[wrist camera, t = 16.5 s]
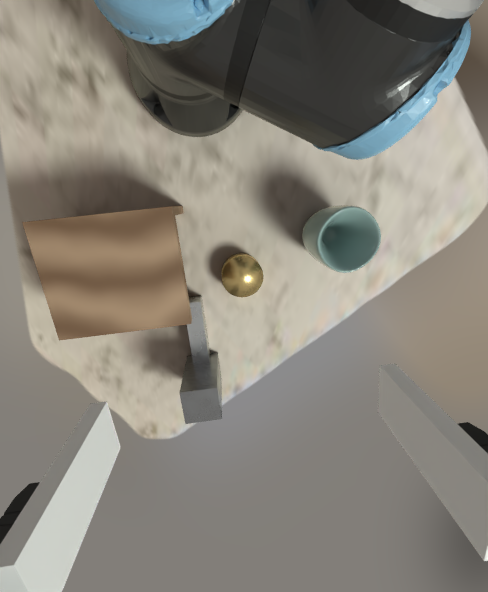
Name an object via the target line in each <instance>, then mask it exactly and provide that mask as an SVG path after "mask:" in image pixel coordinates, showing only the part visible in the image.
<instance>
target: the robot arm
mask: <svg viewBox="0 0 488 592" xmlns="http://www.w3.org/2000/svg"><path fill="white" fill-rule="evenodd" d="M94 2H95V4H96V5H97V7H98V9H99V10H100V11H101V13H102V14H103V15H104V16H105V17H106V18H107V21H109V22H110V24H111V25H112V27H113V29H114V30H115V32H116V33H117V35H118V36H119V38H120V40H121V41H122V43H123V44H124V46H125V48H126V49H127V64H128V70H129V74H130V78H131V81H132V84H133V86H134V89H135V91H136V93H137V95H138V97H139V98H140V100H141V102H142V103H143V105H144V106H145V107H146V109H147V110H148V111H149V112H150V114H151V115H152V116H153V117H154V118H155V119H156V120H157V121H158V122H159V123H161V124H162V125H163V126H165V127H166V128H168V129H170V130H171V131H173V132H176V133H178V134H181V135H185V136H191V137H203V136H209V135H212V134H215V133H218V132H220V131H222V130H223V129H225V128H226V127H228V126H229V125H230V124H232V123H233V122H234V121H235V120H236V118H237V117H238V116H239V115H240V113H241V112H242V110H245V111H247V112H249V113H251V114H253V115H255V116H257V117H259V118H261V119H263V120H265V121H267V122H269V123H271V124H273V125H275V126H277V127H279V128H281V129H283V130H286V131H288V132H290V133H292V134H294V135H296V136H298V137H300V138H302V139H304V140H306V141H308V142H310V143H312V144H313V145H314V146H315V147H316V148H318V149H320V150H321V149H322V150H324V151H331V152H334V153H336V154H338V155H341V156H343V157H346V158H349V159H356V160H358V159H365V158H369V157H372V156H375V155H377V154H379V153H381V152H383V151H384V150H386V149H388V148H389V147H391V146H392V145H393V144H395V143H396V142H397V141H399V140H400V139H401V138H402V137H404V136H405V135H406V134H407V133H408V132H409V131H410V130H411V129H412V128H414V127H415V126H416V125H417V124H418V123H419V122H420V121H421V120H422V119H423V117H424V116H425V115H426V114H427V113H428V112H429V111H430V109H431V108H432V107H433V106H434V105H435V103H436V102H437V95H438V93H439V92H440V91H441V90H442V89H444V88H445V87H447V86H448V85H449V84H450V83H451V81H452V80H453V78H454V77H455V75H456V73H457V71H458V70H459V68H460V66H461V64H462V62H463V60H464V57H465V55H466V52H467V50H468V47H469V43H470V36H471V27H470V24H469V21H468V19H469V18H470V17H471V16H472V15H473V13H474V12H475V11H476V10H477V9H478V8H479V6H480V5H481V3H482V2H483V0H94ZM378 413H379V415H380V416H381V418H383V420H384V421H385V423H386V424H387V426H388V427H389V429H390V430H391V432H392V433H393V434H394V436H395V437H396V439H397V440H398V441H399V443H400V444H401V446H402V447H403V448H404V450H405V451H406V452H407V454H408V455H409V457H410V458H411V460H412V461H413V462H414V464H415V465H416V467H417V468H418V469H419V471H420V472H421V474H422V475H423V476H424V478H425V479H426V481H427V482H428V483H429V485H430V486H431V487H432V489H433V490H434V492H435V493H436V495H437V496H438V497H439V499H440V500H441V501H442V503H443V504H444V505H445V507H446V508H447V510H448V511H449V513H450V514H451V515H452V517H453V518H454V520H455V521H456V522H457V524H458V525H459V526H460V528H461V529H462V531H463V532H464V534H465V535H466V536H467V538H468V539H469V541H470V542H471V543H472V545H473V546H474V548H475V549H476V550H477V552H478V553H479V555H480V556H481V557H482V559H483V560H484V561H487V560H488V435H487V434H486V433H485V432H484V431H482V430H481V429H479V428H477V427H475V426H473V425H472V424H470V423H468V422H467V423H459V424H457V423H456V422H455V421H454V420H453V419H452V418H451V417H450V416H448V414H446V413H445V412H444V411H443V410H442V409H441V408H440V407H439V406H438V405H437V404H436V403H435V402H434V401H433V400H432V399H431V398H430V397H429V396H428V395H427V394H426V393H425V392H424V391H423V390H422V389H421V388H420V387H419V386H418V385H417V384H416V383H415V382H414V381H413V380H412V379H411V378H409V377H408V376H407V375H406V374H405V373H404V372H403V371H402V370H401V369H400V368H399V367H398V366H397V365H396V364H388V365H381V366H380V370H379V394H378ZM120 448H121V447H120V443H119V440H118V437H117V433H116V430H115V427H114V424H113V421H112V417H111V414H110V410H109V407H108V404H107V402H99V403H92V404H90V405H89V407H88V408H87V410H86V411H85V413H84V415H83V416H82V418H81V419H80V421H79V423H78V424H77V425H76V427H75V429H74V430H73V432H72V434H71V435H70V436H69V438H68V439H67V441H66V443H65V444H64V446H63V448H62V449H61V450H60V452H59V454H58V455H57V457H56V458H55V460H54V461H53V463H52V465H51V466H50V468H49V469H48V471H47V472H46V474H45V476H44V477H43V479H42V480H41V482H38V483H31V484H29V485H28V486H27V487H26V488H25V489H23V490H22V491H21V492H20V493H19V494H18V495H17V496H16V497H15V498H14V500H13V501H12V503H11V504H10V506H9V507H8V508H7V510H6V511H5V513H4V516H2V517H1V518H0V592H62V590H63V587H64V585H65V582H66V580H67V578H68V575H69V573H70V570H71V567H72V565H73V563H74V560H75V558H76V555H77V553H78V551H79V548H80V546H81V543H82V540H83V538H84V536H85V533H86V531H87V528H88V526H89V524H90V521H91V519H92V516H93V514H94V511H95V509H96V506H97V504H98V502H99V499H100V497H101V494H102V492H103V489H104V487H105V484H106V482H107V480H108V477H109V474H110V472H111V469H112V467H113V465H114V462H115V460H116V457H117V455H118V453H119V450H120Z"/></svg>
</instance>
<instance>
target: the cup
mask: <svg viewBox="0 0 488 592" xmlns="http://www.w3.org/2000/svg"><path fill="white" fill-rule="evenodd" d="M302 240H303V244H304V246H305V248H306V250H307V251H308V252H309V254H310V255H311V256H312V257H313V258H314V259H316V260H317V261H318V262H320V263H321V264H323V265H324V266H326V267H328V268H330V269H332V270H334V271H337V272H342V273H347V272H353V271H356V270H358V269H360V268H362V267H363V266H364V265H366V264H367V263H368V262H369V261H370V260H371V259H372V258H373V257H374V255H375V254H376V252H377V250H378V248H379V245H380V241H381V234H380V229H379V226H378V223H377V222H376V220H375V218H374V217H373V216H372V215H371V214H370V213H369V212H367V211H366V210H364V209H362V208H360V207H356V206H348V205H341V206H330V207H327V208H323V209H321V210H319V211H317V212H316V213H315V214H313V215H312V216H311V217H310V218H309V219H308V220H307V222H306V223H305V225H304V228H303V231H302Z"/></svg>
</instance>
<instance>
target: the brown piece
mask: <svg viewBox="0 0 488 592" xmlns="http://www.w3.org/2000/svg"><path fill="white" fill-rule="evenodd" d="M182 213H183V207H182V206H170V207H160V208H151V209H142V210H132V211H123V212H114V213H104V214H95V215H86V216H76V217H67V218H58V219H48V220H39V221H29V222H22V223H23V227H24V230H25V233H26V236H27V239H28V242H29V246H30V249H31V252H32V255H33V258H34V262H35V265H36V268H37V271H38V274H39V277H40V281H41V284H42V287H43V290H44V293H45V297H46V300H47V303H48V306H49V309H50V313H51V316H52V319H53V322H54V325H55V328H56V332H57V335H58V338H59V340H66V339H74V338H82V337H90V336H98V335H106V334H114V333H123V332H131V331H139V330H147V329H155V328H163V327H171V326H179V325H187V324H191V322H192V315H191V309H190V303H189V297H188V291H187V285H186V279H185V273H184V267H183V261H182V255H181V249H180V243H179V237H178V231H177V225H176V219H175V215H178V214H182Z"/></svg>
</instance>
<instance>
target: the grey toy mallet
mask: <svg viewBox="0 0 488 592" xmlns="http://www.w3.org/2000/svg"><path fill="white" fill-rule="evenodd" d="M189 303H190V309H191V315H192V322H191V324H187V329H188V335H189V341H190V347H191V353H192V356H187V361H186V365H185V370H184V375H183V379H182V384H181V389H180V397H181V403H182V408H183V413H184V418H185V424H188V423H195V422H202V421H208V420H209V421H210V420H217V419H222V383H221V372H220V365H219V358H218V353H210V349H209V342H208V335H207V329H206V322H205V315H204V309H203V302H202V296H196V297H189Z"/></svg>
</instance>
